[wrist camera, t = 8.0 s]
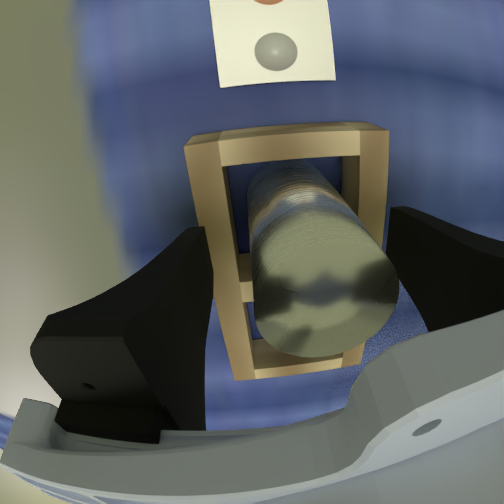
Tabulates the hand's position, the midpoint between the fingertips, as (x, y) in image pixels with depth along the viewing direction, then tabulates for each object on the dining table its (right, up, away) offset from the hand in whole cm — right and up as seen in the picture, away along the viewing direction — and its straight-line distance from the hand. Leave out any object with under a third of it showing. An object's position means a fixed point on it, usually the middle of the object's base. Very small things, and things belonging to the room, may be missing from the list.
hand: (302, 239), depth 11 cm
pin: (0, +2, +3) cm, 4 cm away
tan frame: (0, -1, +5) cm, 5 cm away
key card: (-1, +9, -1) cm, 10 cm away
